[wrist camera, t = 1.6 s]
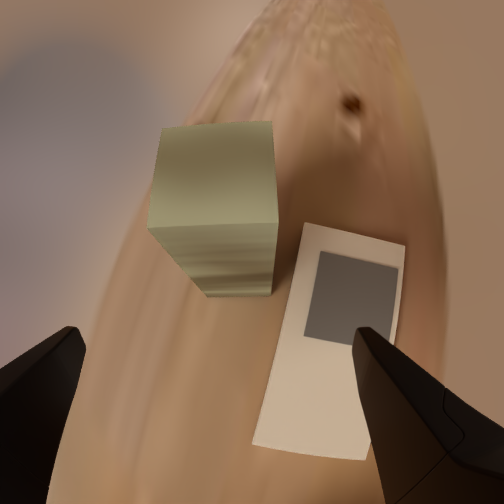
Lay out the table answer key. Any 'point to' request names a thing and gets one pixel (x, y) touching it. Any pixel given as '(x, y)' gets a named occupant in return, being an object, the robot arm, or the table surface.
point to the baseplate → (328, 342)
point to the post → (218, 205)
